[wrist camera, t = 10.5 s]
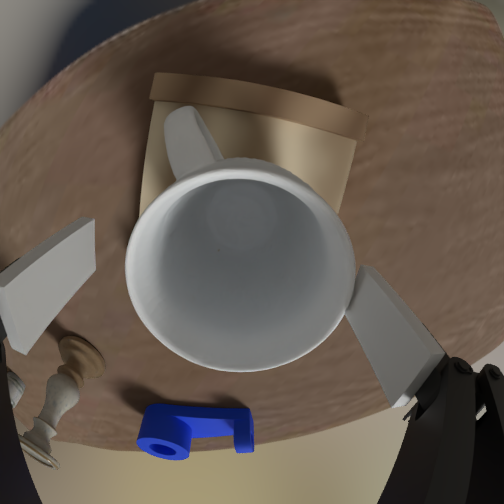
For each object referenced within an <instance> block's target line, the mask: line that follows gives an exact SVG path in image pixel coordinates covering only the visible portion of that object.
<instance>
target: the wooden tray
mask: <svg viewBox="0 0 504 504" xmlns="http://www.w3.org/2000/svg"><path fill="white" fill-rule="evenodd" d="M149 99H151V100H153V101H155V103H154V108H153V113H152V118H151V124H150V130H149V136H148V142H147V149H146V156H145V163H144V171H143V180H142V190H141V201H140V213H139V217H140V216H141V214H142V213H143V212H144V210H145V209H146V208H147V207H148V205H149V204H150V203H151V202H152V201H153V200H154V199H155V198H156V197H157V196H158V195H160V194H161V193H162V192H163V191H164V190H165V189H167V188H168V186H170V185H172V184H173V183H175V182H176V178H175V176H174V174H173V171H172V168H171V165H170V162H169V158H168V154H167V149H166V143H165V136H164V122H165V119H166V118H167V116H168V115H169V114H170V113H171V112H173V111H175V110H176V109H179V108H181V107H184V106H193V107H194V108H195V109H196V110H197V111H198V113H199V114H200V116H201V118H202V119H203V121H204V123H205V125H206V127H207V128H208V130H209V132H210V134H211V135H212V137H213V139H214V140H215V142H216V144H217V146H218V148H219V150H220V152H221V154H222V156H223V158H224V159H227V158H236V157H239V158H243V157H246V158H250V159H253V158H255V159H258V160H264V161H266V162H271V163H273V164H275V165H278V166H280V167H281V168H284V169H286V170H287V171H290V172H291V173H292V174H294V175H296V176H297V177H298V178H300V179H302V180H303V182H305V183H307V184H309V186H310V187H311V188H312V189H313V190H314V191H315V192H316V193H317V194H318V195H319V196H321V197H322V198H323V199H324V200H325V201H326V202H327V203H328V204H329V206H330V207H331V208H332V209H333V210H334V211H335V212H336V214H337V215H338V212H339V208H340V205H341V201H342V198H343V194H344V191H345V187H346V183H347V179H348V175H349V172H350V168H351V164H352V160H353V156H354V151H355V147H356V143H357V141H362V142H364V137H365V133H366V128H367V124H368V119H369V116H368V115H366V114H363V113H360V112H358V111H355V110H352V109H349V108H346V107H343V106H340V105H337V104H334V103H331V102H328V101H325V100H321V99H318V98H315V97H311V96H308V95H304V94H300V93H296V92H292V91H288V90H284V89H280V88H275V87H271V86H266V85H261V84H256V83H251V82H245V81H239V80H233V79H226V78H219V77H211V76H202V75H191V74H178V73H158V72H155V75H154V79H153V84H152V88H151V93H150V97H149Z"/></svg>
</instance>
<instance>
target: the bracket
mask: <svg viewBox="0 0 504 504" xmlns="http://www.w3.org/2000/svg"><path fill="white" fill-rule="evenodd" d="M228 435H234V446H235V450H236V452H237V453H248V452H254V425H253V419H252V415H251V412H250V409H249V408H206V407H191V406H179V405H169V404H152V405H149V406H148V407H147V408H146V410H145V413H144V417H143V420H142V424H141V428H140V431H139V435H138V438H137V445H138V446H139V447H140V448H141V449H142V450H143V451H145V452H147V453H149V454H151V455H153V456H156V457H159V458H163V459H168V460H184V459H186V458H188V457H189V453H190V445H191V438H203V437H217V436H228Z"/></svg>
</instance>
